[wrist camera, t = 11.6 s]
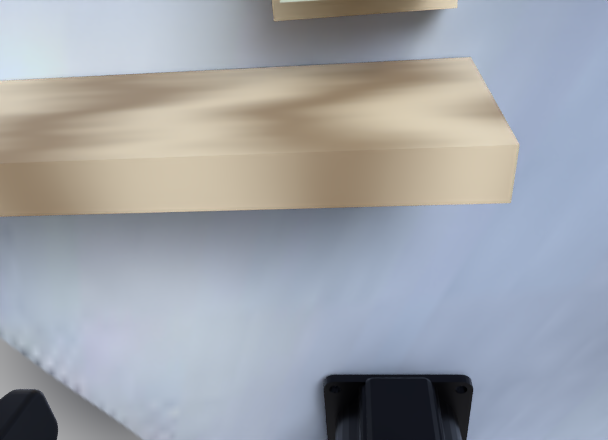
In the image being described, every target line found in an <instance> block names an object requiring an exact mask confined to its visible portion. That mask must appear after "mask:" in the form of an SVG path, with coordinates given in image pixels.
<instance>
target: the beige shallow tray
mask: <svg viewBox="0 0 608 440" xmlns="http://www.w3.org/2000/svg"><path fill="white" fill-rule="evenodd" d="M518 151H519V143H518V141H517V139H516V138H515V136H514V134H513V132H512V130H511V129H510V127H509V125H508V123H507V121H506V120H505V118H504V116H503V114H502V112H501V111H500V109H499V107H498V105H497V103H496V102H495V100H494V98H493V96H492V94H491V93H490V91H489V89H488V87H487V86H486V84H485V82H484V80H483V78H482V77H481V75H480V73H479V71H478V69H477V68H476V66H475V64H474V62H473V60H472V59H471V57H463V58H443V59H423V60H403V61H384V62H364V63H344V64H324V65H304V66H285V67H265V68H245V69H225V70H205V71H186V72H166V73H146V74H126V75H106V76H86V77H67V78H47V79H27V80H7V81H0V217H5V216H42V215H80V214H117V213H155V212H192V211H229V210H267V209H304V208H341V207H379V206H416V205H453V204H491V203H511V198H512V191H513V185H514V178H515V171H516V165H517V158H518Z"/></svg>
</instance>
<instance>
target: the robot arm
mask: <svg viewBox="0 0 608 440" xmlns="http://www.w3.org/2000/svg"><path fill="white" fill-rule="evenodd" d="M472 394H473V386H472V382H471V379H470V378H469V377H467V376H465V375H330V376H328V377H326V379H325V380H324V398H325V411H326V423H327V436H328V440H466V439H467V431H468V424H469V417H470V409H471V402H472ZM57 435H58V425H57V421H56V419H55V417H54V414H53V413H52V411H51V408H50V406H49V404H48V402H47V400H46V398H45V396H44V394H43V393H42V392H41V391H39V390H36V389H18V390H13V391H11V392H9V393H8V394H6V395H5V396H4V397H3V398H1V399H0V440H57Z"/></svg>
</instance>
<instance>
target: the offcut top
mask: <svg viewBox="0 0 608 440" xmlns="http://www.w3.org/2000/svg"><path fill="white" fill-rule="evenodd" d="M298 1H314V0H280V3H282V2H298Z"/></svg>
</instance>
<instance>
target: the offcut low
mask: <svg viewBox="0 0 608 440" xmlns="http://www.w3.org/2000/svg"><path fill="white" fill-rule="evenodd" d="M457 1H458V0H314V1H298V2H282V3H280V0H272V8H273V17H274V21H286V20H299V19H313V18H327V17H340V16H354V15H368V14H381V13H395V12H408V11H422V10H436V9H449V8H457Z"/></svg>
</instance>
